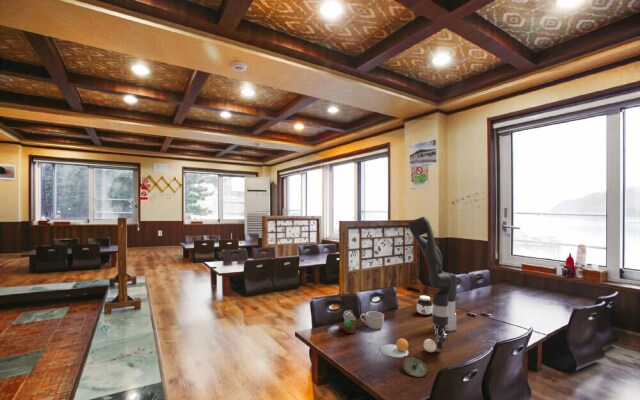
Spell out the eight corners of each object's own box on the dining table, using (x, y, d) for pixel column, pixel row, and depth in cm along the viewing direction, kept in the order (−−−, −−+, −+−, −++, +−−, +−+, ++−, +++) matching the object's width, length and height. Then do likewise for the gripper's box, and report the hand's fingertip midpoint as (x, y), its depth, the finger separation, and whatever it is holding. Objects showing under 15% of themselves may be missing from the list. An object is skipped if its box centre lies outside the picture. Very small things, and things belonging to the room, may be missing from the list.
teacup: (384, 325, 190) (385, 312, 190) (382, 332, 180) (382, 318, 180) (362, 322, 195) (362, 309, 195) (358, 328, 185) (358, 314, 185)
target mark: (403, 344, 164) (403, 344, 164) (412, 357, 150) (412, 357, 150) (377, 344, 163) (377, 344, 163) (383, 357, 149) (383, 356, 149)
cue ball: (427, 334, 160) (419, 342, 160) (432, 339, 154) (424, 348, 154) (435, 342, 160) (427, 351, 160) (440, 348, 154) (432, 356, 154)
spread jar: (414, 313, 215) (415, 296, 215) (423, 310, 223) (423, 293, 223) (431, 318, 206) (431, 300, 207) (439, 314, 214) (439, 297, 214)
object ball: (398, 334, 160) (392, 344, 160) (401, 338, 154) (395, 349, 154) (408, 340, 160) (402, 350, 160) (412, 345, 154) (405, 356, 154)
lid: (422, 366, 142) (422, 355, 142) (430, 378, 132) (431, 366, 132) (399, 366, 142) (399, 354, 142) (406, 377, 132) (406, 365, 132)
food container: (341, 326, 187) (341, 309, 187) (351, 326, 187) (351, 309, 188) (344, 335, 175) (345, 316, 175) (355, 334, 175) (355, 316, 175)
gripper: (453, 318, 151) (452, 354, 151) (442, 309, 164) (441, 343, 164) (438, 318, 151) (437, 354, 151) (427, 309, 164) (427, 342, 164)
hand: (439, 348), depth 157 cm, fingers closed
